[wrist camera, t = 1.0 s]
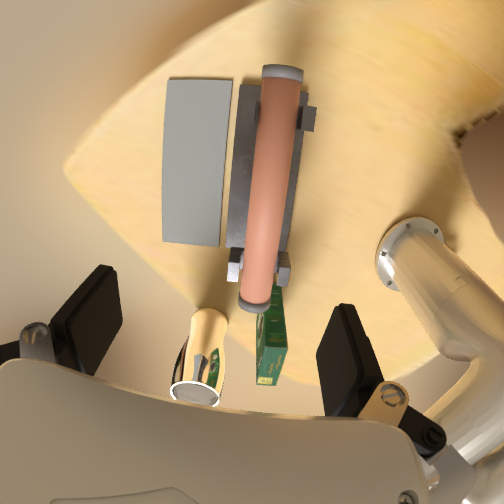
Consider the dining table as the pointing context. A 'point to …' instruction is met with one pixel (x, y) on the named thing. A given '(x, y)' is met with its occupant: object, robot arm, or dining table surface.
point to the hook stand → (243, 178)
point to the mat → (194, 160)
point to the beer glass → (201, 360)
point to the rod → (269, 183)
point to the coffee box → (271, 340)
